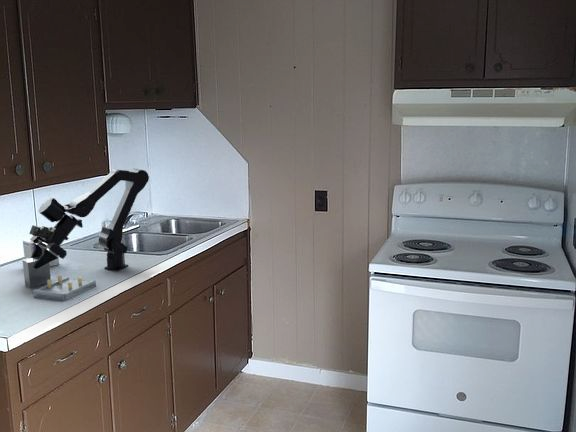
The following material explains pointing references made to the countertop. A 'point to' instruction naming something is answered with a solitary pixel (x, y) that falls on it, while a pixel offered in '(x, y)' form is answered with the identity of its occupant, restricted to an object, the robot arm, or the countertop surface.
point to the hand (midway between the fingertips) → (32, 266)
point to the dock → (63, 288)
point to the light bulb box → (30, 248)
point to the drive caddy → (35, 273)
